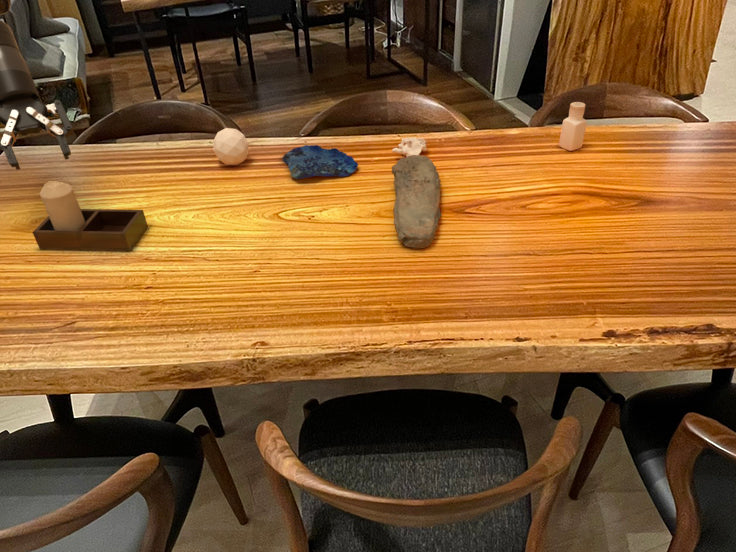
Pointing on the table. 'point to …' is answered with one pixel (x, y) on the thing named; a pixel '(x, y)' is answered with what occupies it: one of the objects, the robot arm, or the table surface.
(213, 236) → the table surface
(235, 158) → the geometric ball
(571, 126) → the pepper shaker
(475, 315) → the table surface
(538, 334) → the table surface
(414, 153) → the pelvis model
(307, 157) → the rock
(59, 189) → the candle
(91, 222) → the box
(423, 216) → the long grey stone
